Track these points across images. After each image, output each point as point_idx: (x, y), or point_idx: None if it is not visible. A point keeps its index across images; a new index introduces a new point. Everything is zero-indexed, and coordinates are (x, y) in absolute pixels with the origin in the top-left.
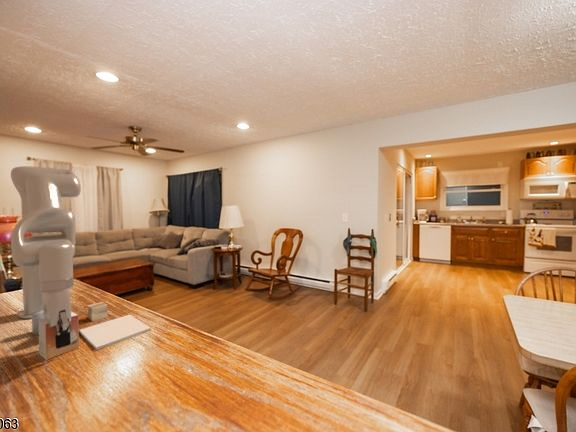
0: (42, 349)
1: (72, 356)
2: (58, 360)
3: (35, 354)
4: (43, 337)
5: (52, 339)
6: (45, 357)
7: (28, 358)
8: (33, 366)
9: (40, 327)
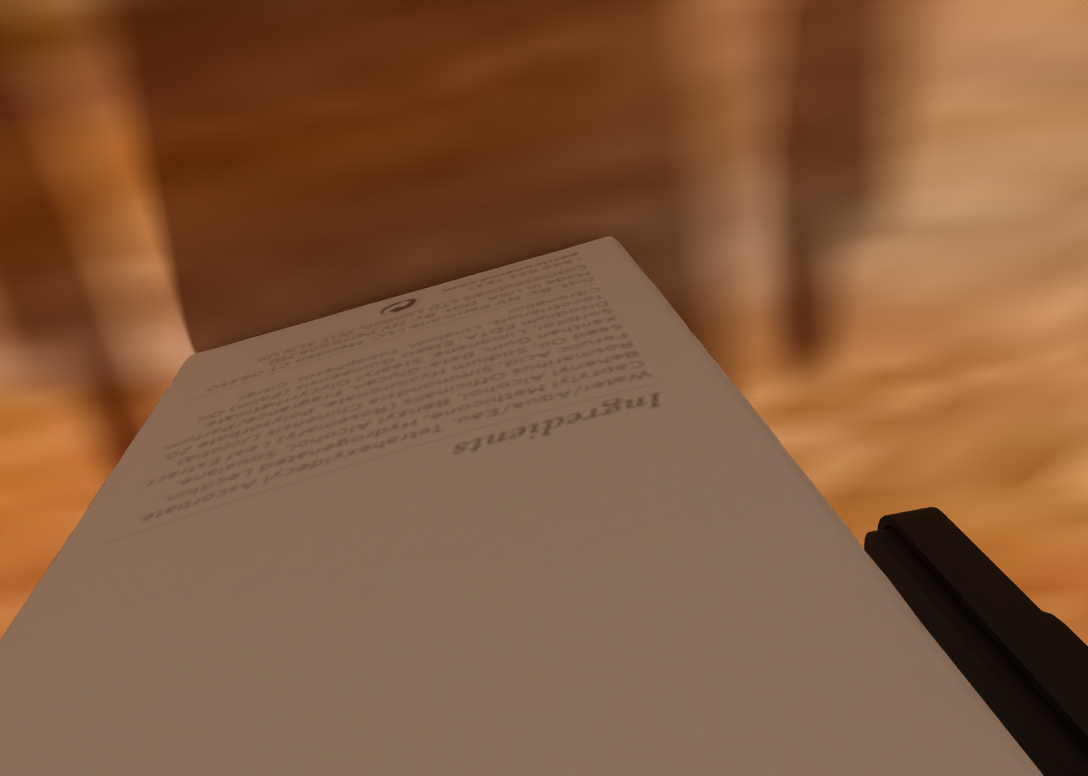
0: (354, 370)
1: None
2: (51, 537)
3: (711, 158)
4: (128, 658)
5: None
6: (192, 369)
7: (601, 33)
8: (57, 141)
9: None
